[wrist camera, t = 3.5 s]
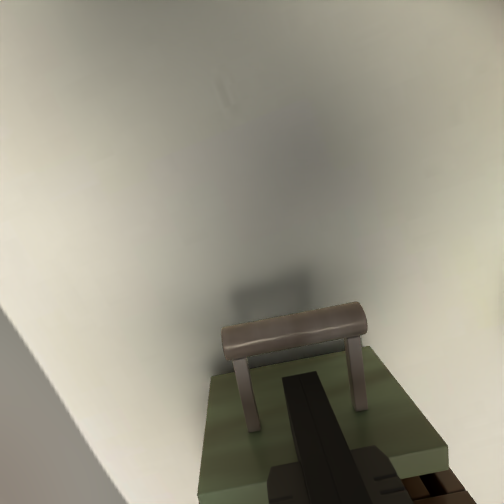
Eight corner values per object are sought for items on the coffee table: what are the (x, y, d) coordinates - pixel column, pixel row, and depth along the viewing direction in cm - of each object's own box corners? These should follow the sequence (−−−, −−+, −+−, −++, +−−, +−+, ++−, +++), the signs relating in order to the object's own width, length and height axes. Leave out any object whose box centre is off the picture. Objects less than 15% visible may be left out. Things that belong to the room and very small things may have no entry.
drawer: (191, 297, 18) (162, 378, 11) (361, 264, 18) (445, 324, 11) (251, 538, 22) (258, 708, 15) (386, 512, 22) (456, 668, 15)
